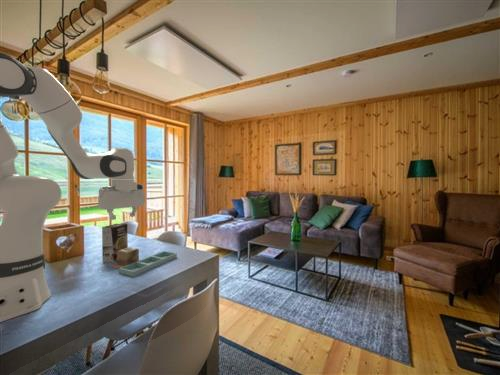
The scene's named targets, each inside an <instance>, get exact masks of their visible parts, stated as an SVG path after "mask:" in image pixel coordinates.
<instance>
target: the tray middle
mask: <svg viewBox="0 0 500 375" xmlns="http://www.w3.org/2000/svg"><path fill="white" fill-rule="evenodd" d="M137 262H140V263H144V264H149V265H150V270H151V269H154V268H156V267H158V266H160V265H162V264H165V263H164V258H158V257H153V256H152V255H150V256H148V257H145V258H142V259H139V261H137Z"/></svg>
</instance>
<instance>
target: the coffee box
mask: <svg viewBox="0 0 500 375" xmlns="http://www.w3.org/2000/svg"><path fill="white" fill-rule="evenodd" d="M101 237H102V238H101V239H102V240H101V242H102V244H101V245H102V247H101V248H102V256H101V257H102V263H109V262H110V263H115V262H117V251H118V250H121V249H125V248H128V247H129V246H128V242H129V241H128V223H112V224H109V225H106V226H102V227H101Z"/></svg>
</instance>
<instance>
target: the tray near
mask: <svg viewBox="0 0 500 375" xmlns="http://www.w3.org/2000/svg"><path fill="white" fill-rule="evenodd" d="M149 270H151V269H150V265H149V264H144V263H140V262H134V263H131V264H129V265H126V266H124V267H121V268H118V273H119V274H121V275H125V276H128V277H133V278H134V277H137V276H138V275H141V274H143V273H145V272H148V271H149Z"/></svg>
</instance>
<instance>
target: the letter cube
mask: <svg viewBox="0 0 500 375" xmlns="http://www.w3.org/2000/svg"><path fill="white" fill-rule="evenodd" d="M139 252H140V249H139V248H136V247H130V246H128V248H125V249H121V250H118V251H117V261H116V264H117V265H121V266H126V265H129V264H131V263H134V262H137V261H139V260H140V257H139V256H140V253H139Z"/></svg>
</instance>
